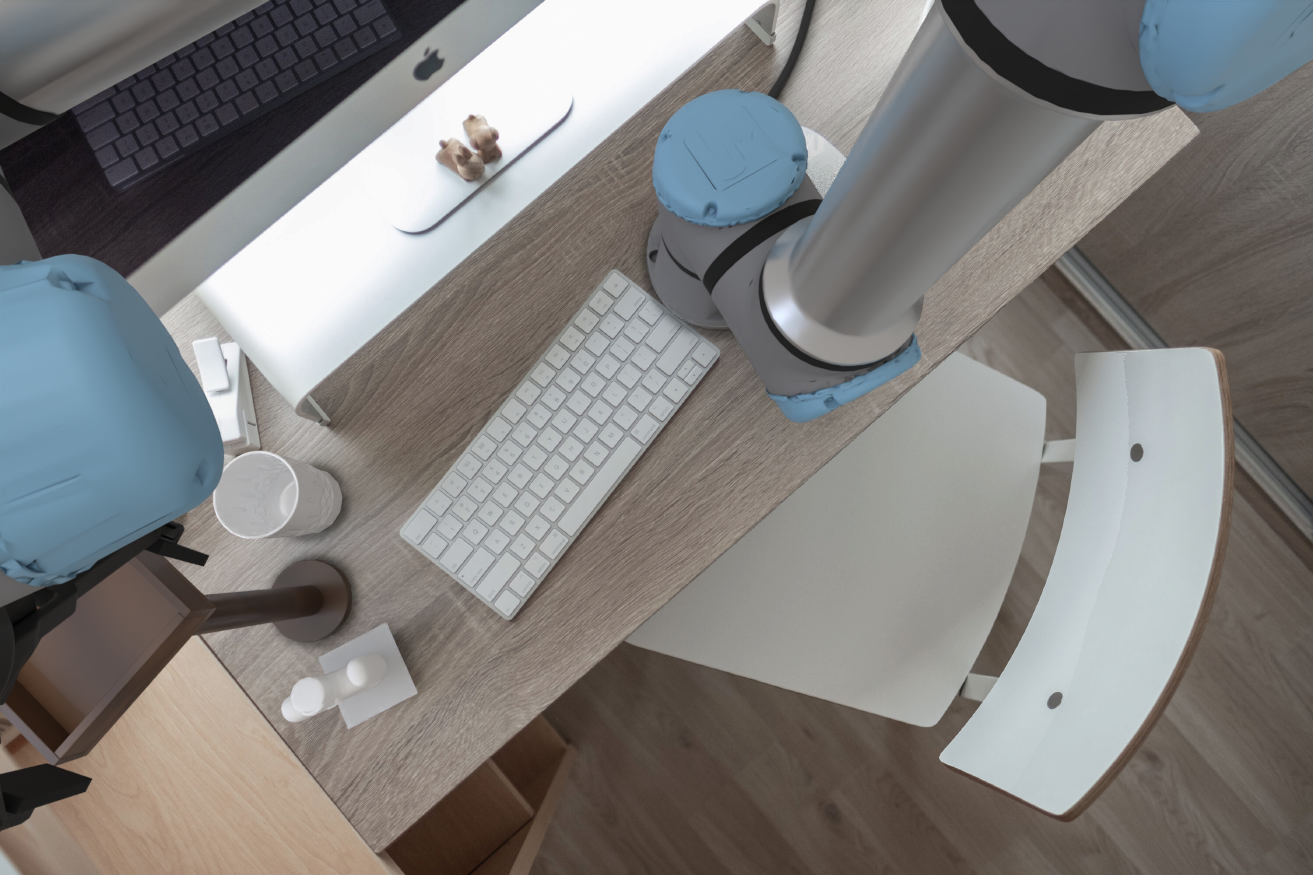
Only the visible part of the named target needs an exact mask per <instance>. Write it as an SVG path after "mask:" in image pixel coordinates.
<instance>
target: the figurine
mask: <svg viewBox="0 0 1313 875" xmlns="http://www.w3.org/2000/svg"><path fill="white" fill-rule="evenodd" d="M317 659H318V662H319V665H320V666H321V670H322V672H323V674H322V675H314V676H306V677H302V678H301V679H299V680H298V681H297V682H296V683H295V684H294V685H293V687H292V689H291V692H290V695H289V696H287V697H286V698H285V699H284V700H283V702H282V704H281V707H280V708H281V709H280V710H281V715H282V716H283V717H284V719H285V720H286V721H288V722H290V723H299V722H303V721H306V720H307V719H310V718H312V717H314V716H316V715H318V714H320V713H323V712H325V711H329V710H331V709H333V708H334V707H336V706H337V707H338V709H339V711H340V714H341V716H342V719H343V720H344V723H345V725H346V728H347V729H348V730H350V729H352V728H354V727H356V726H358V725H360V724H362V723H364V722H365V721H368V720H369V719H372V718H373V717H376V716H377V715H379V714H381V713H383V712H385V711H387V710H389V709H391V708H392V707H394V706H397V705H398V704H401V703H402V702H404V701H405V700H408V699H409V698H411V697H414V696H415V695H417V694H419V693H418V690H417V688H416V685H415V683H414V681H413V678H412V676H411V674H410V672H409V669H408V667H407V665H406V663H405V661H404V658H403V657H402V654H401V651H400V649H399V646H398V645H397V643H396V641H395V638H394V636H393V634H392V631H391V629H390V627H389V625H388V622H387V621H385V622H383V623H381V624H379V625H378V626H376V627H374V628H372V629H369V630H368V631H367V632H364V633H362V634H360V635H359V636H357V637H355V638H353V639H351V640H349V641H347V642H345V643H344V644H341V645H339V646H338V647H336V648H334V649H332V650H330V651H327V652H326V653H324V654H322V655H320V656H318V657H317Z"/></svg>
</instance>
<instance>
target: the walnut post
mask: <svg viewBox="0 0 1313 875" xmlns="http://www.w3.org/2000/svg"><path fill="white" fill-rule="evenodd" d="M352 594H353V592H352V589H351V584H350V582H349V580H348V578H347V576H346V575H345V574H344V572H343V571H342V570H341V569H340V568H339V567H337V566H336V565H335V564H333V563H331V562H329V561H326V560H323V559H306V560H301V561H297V562H295V563H293V564H291V565H289V566H287V567H286V568H285V569H284V570H282V571H281V572H280V573H279V575H278V576H277V578H276V579H275V581H274V582H273V584H272V586H271V588H264V589H263V588H262V589H254V590H253V589H252V590H242V591H230V592H219V593H218V592H217V593H207V594H203V595H204V596H206V597H207V598H208V599H209V600H210V601H211V602H212V603H213V604H214V605H215V606H216V607H217V608H216V610H215V611H214V612H213V613H212V614H211V615H210V616H209V618H208V619H207V620H206V621H205V622H204V623H203V624H202V625H201V627H200V628H199V629H198V630H197V631H196V632H195V633H194V635H193V636H192V637H194V636H201V635H206V634H207V635H208V634H213V633H217V632H223V631H230V630H236V629H241V628H248V627H254V626H259V625H265V624H271V623H273V624H274V626H275V628H276V629H277V630H278V631H279V632H280V633H281V634H282V635H283V636H284V637H286V638H288V639H289V640H292V641H295V642H298V643H314V642H318V641H322V640H324V639H327V638H329V637H331V636H332V635H334V634H335V633H336V632H338V631H339V630H340V629H341V628H342V626H343V625H344V624H345V622H346V620H347V619H348V617H349V614H350V612H351V608H352V601H353V595H352Z"/></svg>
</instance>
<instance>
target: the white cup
mask: <svg viewBox="0 0 1313 875" xmlns="http://www.w3.org/2000/svg"><path fill="white" fill-rule="evenodd" d="M343 498H344V497H343V494H342V490H341V487H340V483H339V481H337V480H336V479H335V478H334V477H333V476H332V474H331V473H330V472H328V471H325V470H322V469H318V468H317V467H314V466H313V465H311V464H308V463H305V462H303V461H300V460H296V459H293V458H291V457H287V456H284V455H282V454H281V455H280V454H278V453H275V452H271V451H268V450H252V451H248V452H245V453H241V454H240V455H238V456H236V457H234V458H233V459H231V460H230V461H229V462H228V463H227V464H226V465H225V466H223V473H222V476H221V479H220V481H219V483H218V486H217V487H216V489H215V490H214V492H213V493H212V505H213V509H214V513H215V515H216V517H217V520H218V521H219V523H220V524H221V526H223V528H224V529H225V530H227V531H228V533H231V534H232V535H234V536H236V537H239V538H242V539H246V540H247V539H248V540H260V539H261V540H262V539H281V538H284V539H285V538H293V537H302V536H305V535H313V534H320V533H321V532H323V531H325V530H326V529H328V528H329V527H331V526H332V525H334V522H335V521H336V519H337V518H338V516H339V515H340V513H341V511H342V505H343Z"/></svg>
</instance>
